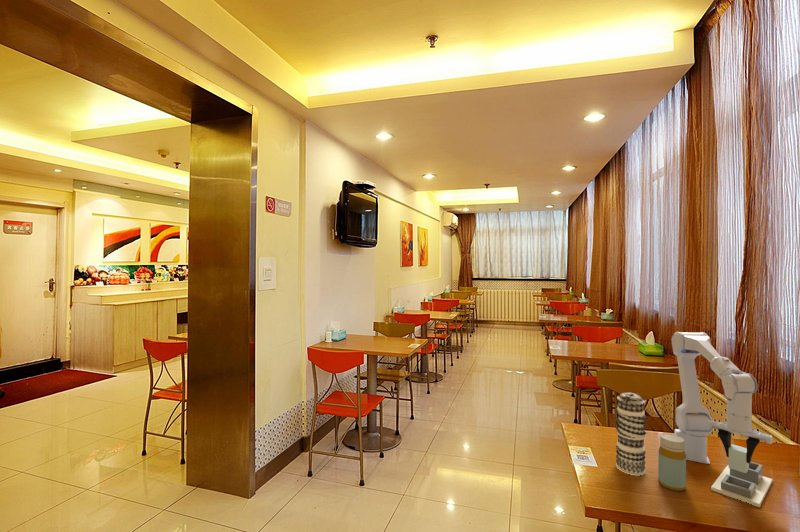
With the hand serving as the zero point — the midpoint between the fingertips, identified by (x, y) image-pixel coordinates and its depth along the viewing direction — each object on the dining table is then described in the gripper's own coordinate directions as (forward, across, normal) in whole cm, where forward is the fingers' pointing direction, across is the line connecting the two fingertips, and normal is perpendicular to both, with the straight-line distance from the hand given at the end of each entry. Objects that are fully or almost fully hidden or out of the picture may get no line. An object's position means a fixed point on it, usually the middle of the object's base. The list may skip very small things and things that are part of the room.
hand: (738, 458), depth 118 cm
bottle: (+10, -14, -11) cm, 21 cm away
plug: (+3, 0, 0) cm, 3 cm away
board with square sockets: (+10, 0, +5) cm, 12 cm away
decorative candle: (+10, -26, -10) cm, 30 cm away
